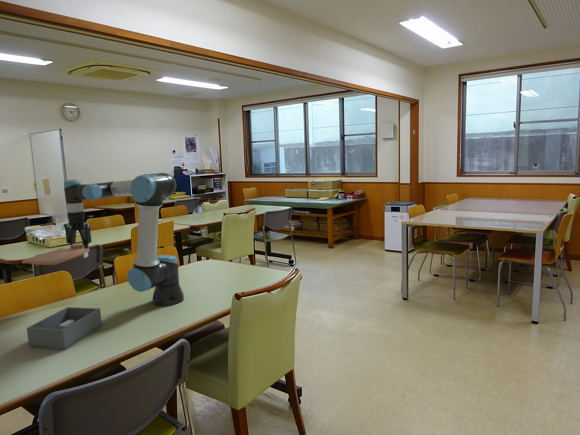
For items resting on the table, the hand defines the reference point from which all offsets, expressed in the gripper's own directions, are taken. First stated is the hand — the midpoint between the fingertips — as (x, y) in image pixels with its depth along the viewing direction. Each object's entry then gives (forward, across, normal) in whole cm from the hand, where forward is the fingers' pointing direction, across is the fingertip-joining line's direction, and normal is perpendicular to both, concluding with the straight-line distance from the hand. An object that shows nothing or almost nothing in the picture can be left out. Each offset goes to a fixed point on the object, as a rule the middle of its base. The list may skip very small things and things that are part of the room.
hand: (80, 256), depth 209 cm
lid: (-3, 0, +12) cm, 12 cm away
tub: (+23, -22, +40) cm, 51 cm away
